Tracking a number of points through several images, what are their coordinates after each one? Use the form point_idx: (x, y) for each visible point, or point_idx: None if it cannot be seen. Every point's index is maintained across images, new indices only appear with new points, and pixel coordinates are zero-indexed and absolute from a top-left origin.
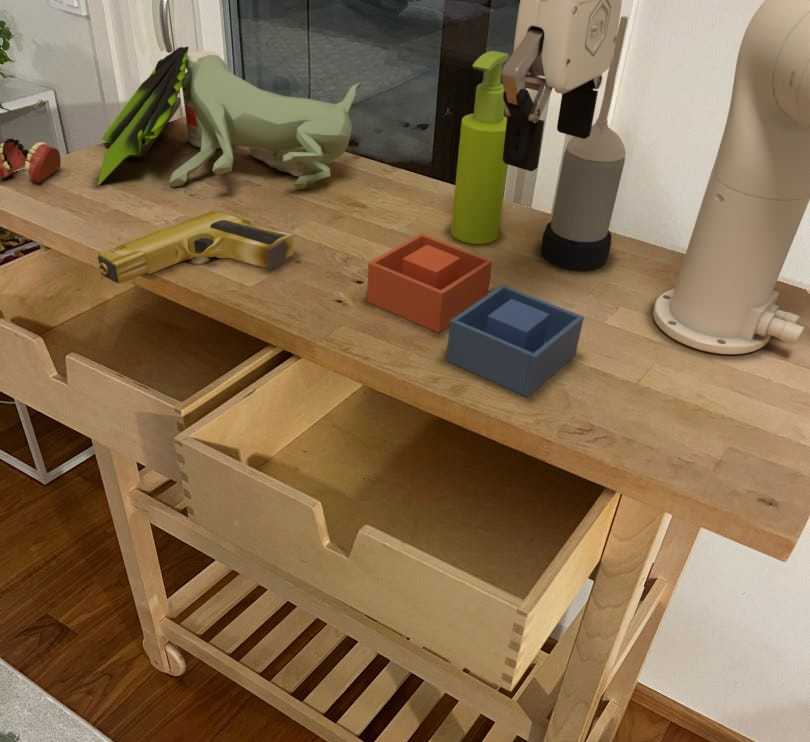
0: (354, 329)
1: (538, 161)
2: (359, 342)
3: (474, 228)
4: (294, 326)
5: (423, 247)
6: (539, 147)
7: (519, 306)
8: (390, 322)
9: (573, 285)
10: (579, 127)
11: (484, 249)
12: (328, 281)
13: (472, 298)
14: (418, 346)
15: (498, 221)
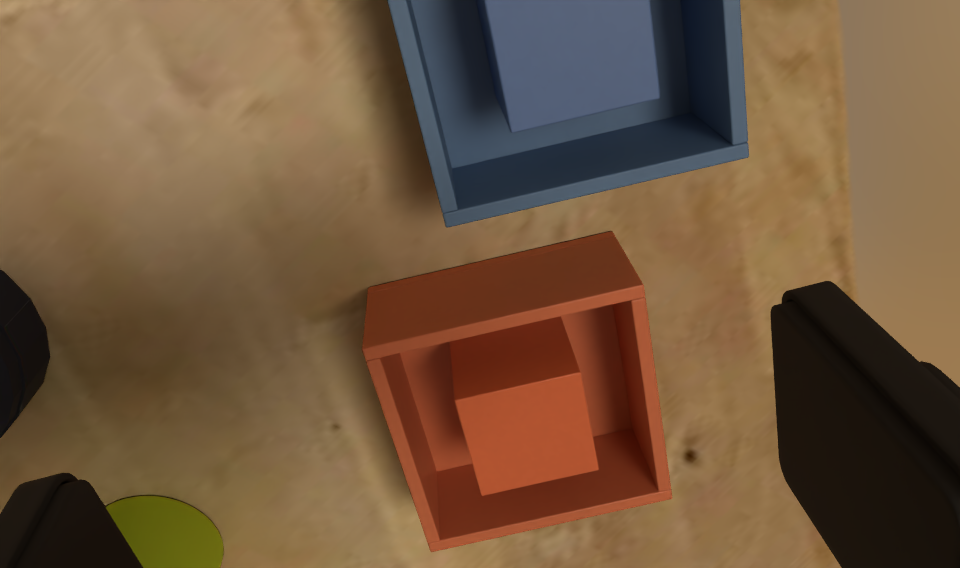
0: (757, 351)
1: (806, 310)
2: None
3: (187, 543)
4: None
5: (503, 488)
6: (883, 361)
7: (530, 78)
8: (667, 331)
9: (61, 207)
10: (85, 559)
11: (185, 477)
12: (643, 529)
13: (456, 283)
14: (700, 212)
15: None
